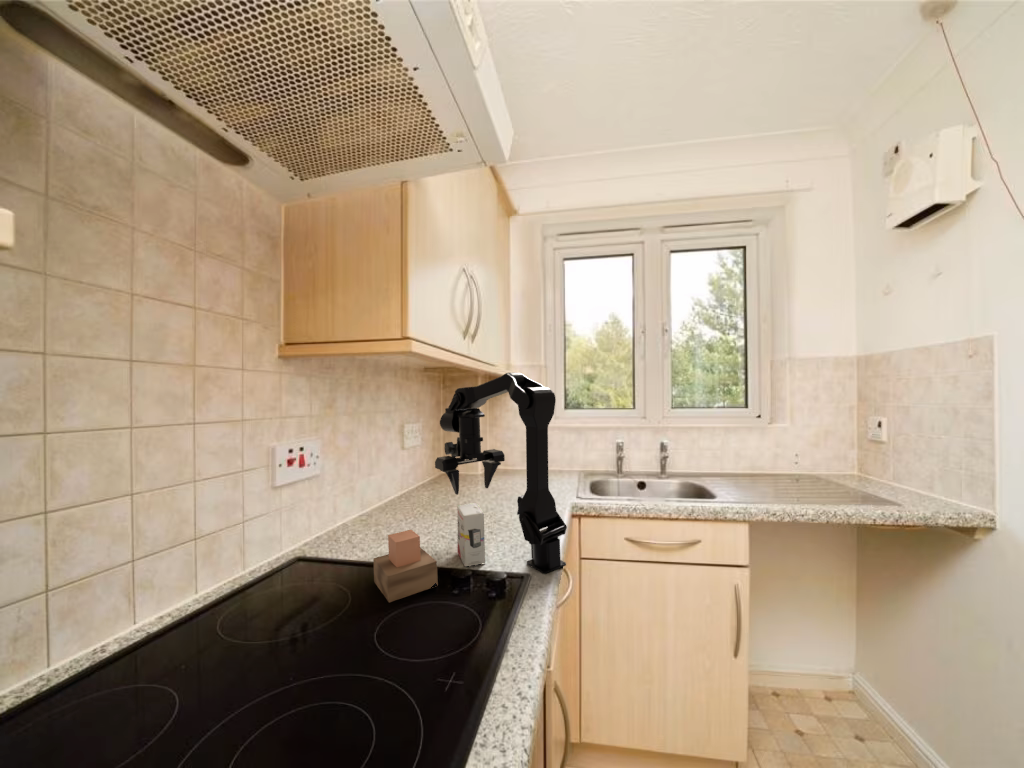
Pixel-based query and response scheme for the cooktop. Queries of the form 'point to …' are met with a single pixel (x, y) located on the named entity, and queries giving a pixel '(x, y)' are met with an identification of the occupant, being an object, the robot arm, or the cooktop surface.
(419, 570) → the walnut block
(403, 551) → the terracotta cube
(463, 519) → the ink box
